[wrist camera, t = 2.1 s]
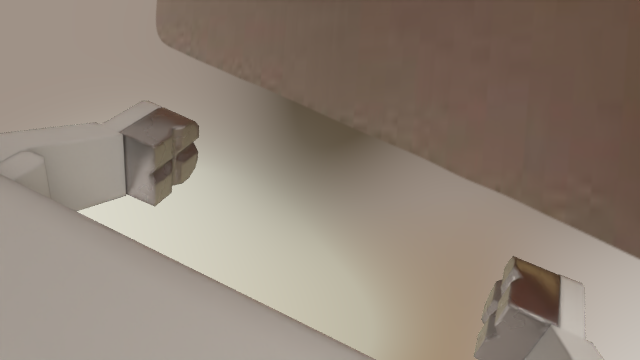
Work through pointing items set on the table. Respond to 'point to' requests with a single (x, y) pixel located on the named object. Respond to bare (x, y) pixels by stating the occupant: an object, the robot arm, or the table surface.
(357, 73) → the table surface
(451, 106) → the table surface
